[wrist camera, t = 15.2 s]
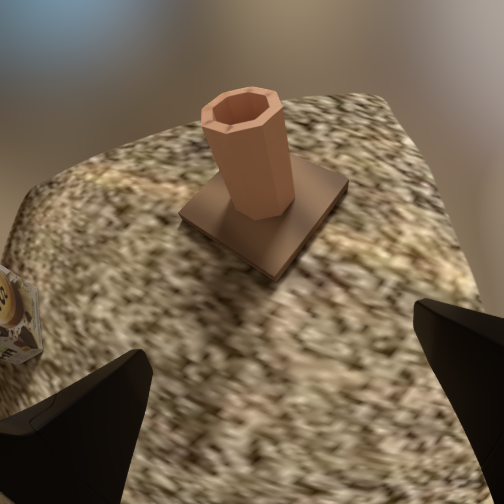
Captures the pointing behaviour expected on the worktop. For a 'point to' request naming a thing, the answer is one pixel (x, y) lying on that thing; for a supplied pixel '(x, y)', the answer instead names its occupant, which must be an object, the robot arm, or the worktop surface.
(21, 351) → the coffee box
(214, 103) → the terracotta collar
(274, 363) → the worktop surface
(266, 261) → the post stand
